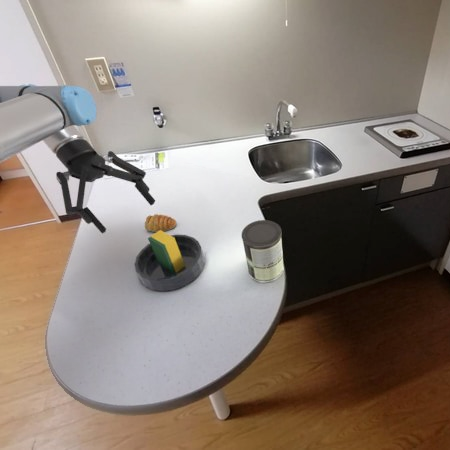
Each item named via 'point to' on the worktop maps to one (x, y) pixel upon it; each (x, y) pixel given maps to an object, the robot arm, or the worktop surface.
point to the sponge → (166, 251)
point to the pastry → (159, 223)
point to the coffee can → (263, 250)
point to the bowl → (163, 279)
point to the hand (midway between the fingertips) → (130, 216)
